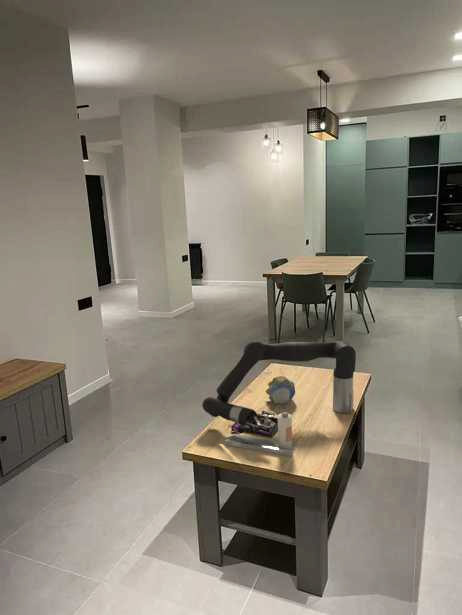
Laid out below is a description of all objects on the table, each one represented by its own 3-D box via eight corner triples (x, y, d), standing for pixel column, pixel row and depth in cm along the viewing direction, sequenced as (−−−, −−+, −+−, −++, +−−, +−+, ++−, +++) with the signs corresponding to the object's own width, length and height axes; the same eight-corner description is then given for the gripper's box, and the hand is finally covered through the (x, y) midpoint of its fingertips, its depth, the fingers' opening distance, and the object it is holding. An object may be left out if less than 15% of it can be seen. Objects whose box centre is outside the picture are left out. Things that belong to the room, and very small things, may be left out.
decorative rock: (281, 378, 221) (297, 370, 233) (255, 381, 231) (272, 373, 243) (288, 406, 221) (304, 397, 233) (262, 408, 231) (278, 399, 243)
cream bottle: (275, 447, 188) (275, 412, 184) (286, 443, 190) (286, 409, 187) (283, 453, 183) (283, 418, 179) (294, 449, 185) (294, 414, 182)
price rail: (292, 455, 181) (292, 450, 181) (291, 456, 180) (291, 452, 180) (226, 443, 192) (226, 439, 191) (225, 445, 190) (224, 440, 190)
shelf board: (297, 447, 189) (297, 444, 189) (291, 459, 180) (291, 456, 180) (234, 436, 200) (234, 433, 199) (225, 447, 191) (225, 445, 190)
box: (231, 433, 204) (272, 441, 195) (230, 426, 204) (271, 434, 195) (244, 419, 216) (283, 426, 207) (244, 412, 216) (283, 419, 207)
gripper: (232, 414, 191) (265, 424, 181) (251, 401, 202) (284, 410, 192) (233, 430, 192) (265, 441, 183) (252, 417, 203) (284, 427, 194)
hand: (275, 425), depth 187 cm, fingers open, 8 cm apart
